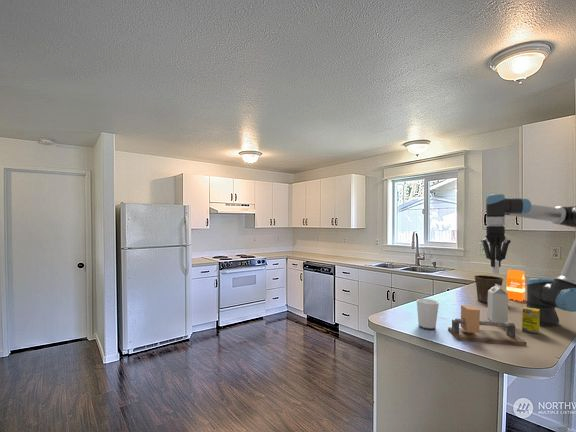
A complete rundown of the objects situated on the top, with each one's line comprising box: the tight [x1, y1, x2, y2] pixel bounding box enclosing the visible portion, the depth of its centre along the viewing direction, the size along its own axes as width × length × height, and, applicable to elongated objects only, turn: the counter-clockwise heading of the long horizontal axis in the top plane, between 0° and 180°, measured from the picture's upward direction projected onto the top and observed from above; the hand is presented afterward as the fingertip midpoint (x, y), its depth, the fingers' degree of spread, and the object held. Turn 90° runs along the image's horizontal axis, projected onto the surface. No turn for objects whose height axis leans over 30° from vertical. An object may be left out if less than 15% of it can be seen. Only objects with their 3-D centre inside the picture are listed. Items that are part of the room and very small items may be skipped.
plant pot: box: [473, 274, 504, 304], centre depth 203 cm, size 16×16×16 cm
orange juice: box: [506, 269, 526, 302], centre depth 212 cm, size 8×9×20 cm
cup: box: [416, 298, 440, 331], centre depth 149 cm, size 10×10×13 cm
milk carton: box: [486, 284, 509, 323], centre depth 163 cm, size 7×7×19 cm
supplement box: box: [521, 306, 540, 335], centre depth 148 cm, size 6×6×11 cm
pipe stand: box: [447, 318, 527, 347], centre depth 138 cm, size 27×12×8 cm, turn 81°
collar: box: [460, 304, 481, 333], centre depth 139 cm, size 5×7×10 cm
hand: (495, 273), depth 151 cm, fingers closed
